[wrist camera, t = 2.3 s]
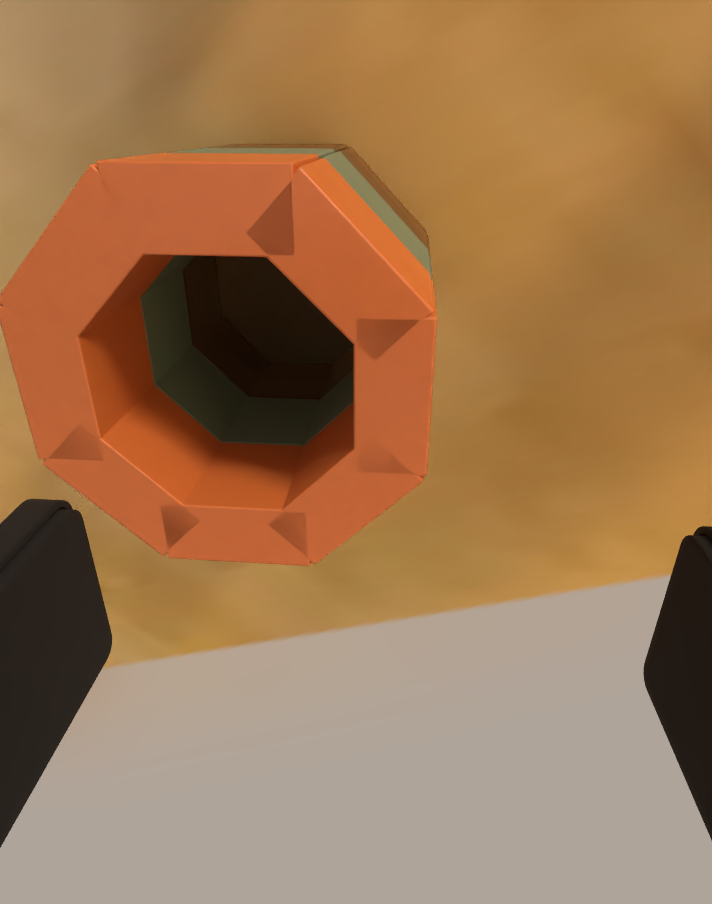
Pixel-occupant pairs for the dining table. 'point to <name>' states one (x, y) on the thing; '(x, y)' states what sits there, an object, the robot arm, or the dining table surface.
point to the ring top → (164, 422)
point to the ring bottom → (234, 350)
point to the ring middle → (210, 389)
